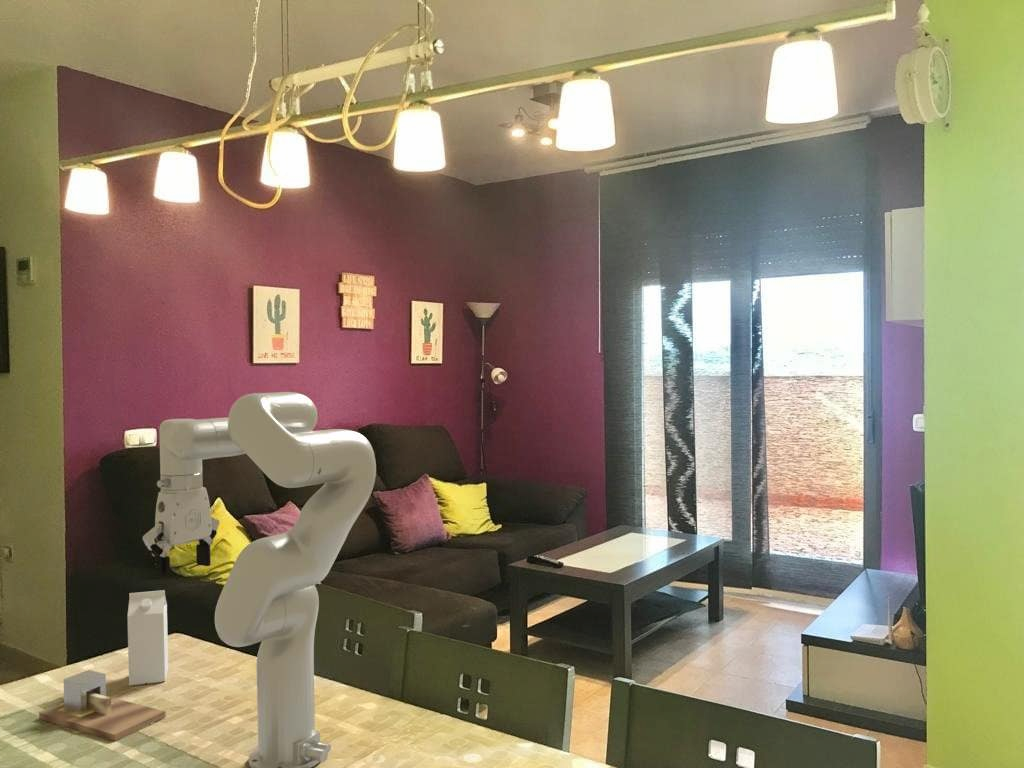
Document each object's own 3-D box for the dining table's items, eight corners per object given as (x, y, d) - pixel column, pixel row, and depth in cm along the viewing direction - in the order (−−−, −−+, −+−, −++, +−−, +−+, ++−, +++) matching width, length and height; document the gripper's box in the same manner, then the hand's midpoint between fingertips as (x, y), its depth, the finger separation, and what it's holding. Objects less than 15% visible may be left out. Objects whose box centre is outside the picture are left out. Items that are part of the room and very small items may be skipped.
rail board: (165, 717, 159) (165, 696, 159) (115, 741, 149) (114, 718, 149) (91, 697, 169) (90, 677, 169) (39, 718, 159) (38, 697, 159)
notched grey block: (106, 703, 163) (105, 673, 162) (81, 714, 158) (80, 683, 158) (89, 699, 165) (88, 669, 165) (64, 709, 160) (63, 679, 160)
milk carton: (133, 674, 182) (131, 589, 181) (168, 670, 184) (166, 586, 183) (129, 686, 175) (126, 597, 174) (165, 682, 177) (163, 594, 176)
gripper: (157, 490, 149) (159, 584, 150) (230, 478, 165) (231, 563, 165) (129, 488, 153) (131, 579, 153) (203, 476, 168) (205, 559, 169)
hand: (183, 570), depth 159 cm, fingers open, 9 cm apart
